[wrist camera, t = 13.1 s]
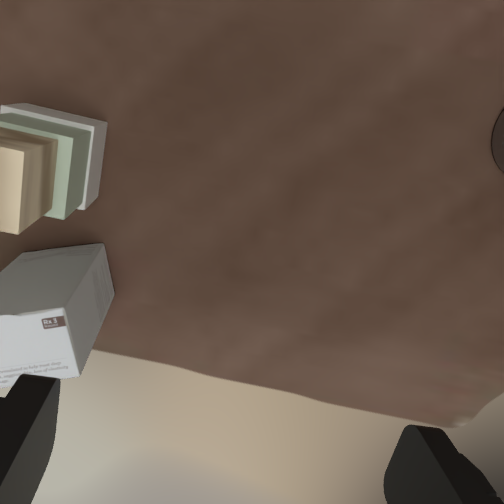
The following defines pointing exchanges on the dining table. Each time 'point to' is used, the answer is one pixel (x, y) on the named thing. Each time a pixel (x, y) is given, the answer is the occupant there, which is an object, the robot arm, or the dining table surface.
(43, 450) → the robot arm
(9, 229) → the beige metal block
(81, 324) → the skincare box
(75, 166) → the sage block
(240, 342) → the dining table surface
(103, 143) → the grey base block
